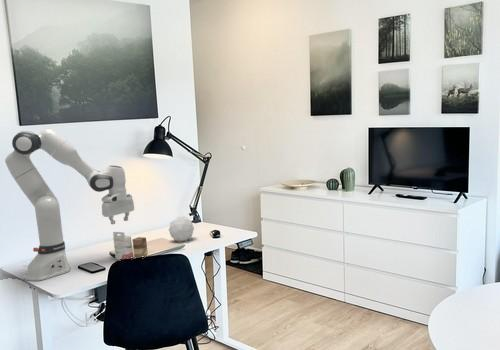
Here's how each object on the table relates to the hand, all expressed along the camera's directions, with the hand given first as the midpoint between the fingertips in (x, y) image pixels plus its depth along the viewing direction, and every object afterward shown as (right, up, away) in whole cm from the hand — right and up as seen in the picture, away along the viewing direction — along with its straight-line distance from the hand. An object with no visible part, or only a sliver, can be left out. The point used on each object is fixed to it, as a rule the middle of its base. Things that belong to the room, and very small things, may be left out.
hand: (119, 222), depth 250 cm
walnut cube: (+10, -14, +2) cm, 17 cm away
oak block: (+11, -19, +3) cm, 22 cm away
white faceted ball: (+28, -14, +34) cm, 46 cm away
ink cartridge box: (+2, -20, +3) cm, 20 cm away
